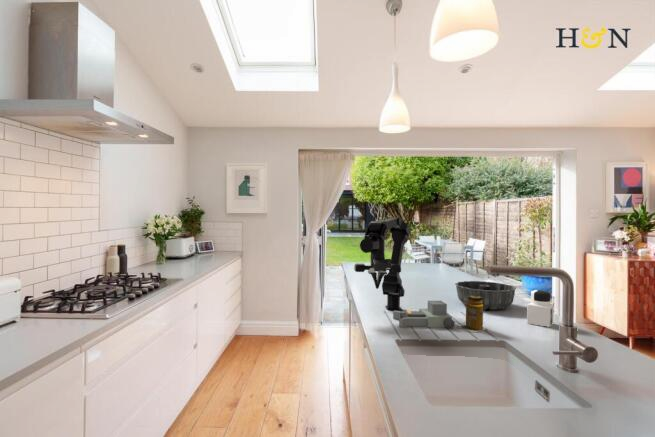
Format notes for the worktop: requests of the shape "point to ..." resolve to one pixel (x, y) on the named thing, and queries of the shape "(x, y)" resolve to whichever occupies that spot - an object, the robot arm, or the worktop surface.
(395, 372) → the worktop surface
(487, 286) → the bundt pan
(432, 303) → the grey blocky piece
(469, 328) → the condiment
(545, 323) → the container
